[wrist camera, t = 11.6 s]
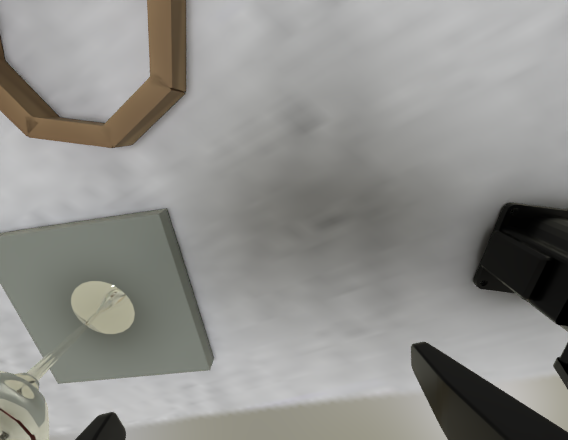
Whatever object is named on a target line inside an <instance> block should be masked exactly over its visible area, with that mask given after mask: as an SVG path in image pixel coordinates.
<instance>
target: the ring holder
mask: <svg viewBox="0 0 568 440" xmlns="http://www.w3.org/2000/svg"><path fill="white" fill-rule="evenodd" d="M147 8H148V32H149V57H150V77H149V78H148V79H147V81H146V82H145V83H144V84H143V85H142V86H141V87H140V88H139V89H138V90H137V91H136V92H135V93H134V94H133V95H132V96H131V97H130V98H129V99H128V100H127V101H126V102H125V103H124V104H123V105H122V106H121V107H120V108H119V110H118V111H117V112H116V113H115V114H114V115H113V116H112V117H111V118H110V119H109V120H108V121H107V122H106V123H99V122H92V121H84V120H76V119H68V118H60V117H59V116H58V115H57V114H56V113H55V112H54V111H53V110H52V109H51V108H50V107H49V106H48V105H47V104H46V103H45V102H44V101H43V100H42V99H41V98H40V97H39V96H38V94H37V93H36V92H35V91H34V90H33V89H32V88H31V87H30V86H29V85H28V84H27V83H26V82H25V81H24V80H23V79H22V78H21V77H20V76H19V75H18V74H17V73H16V72H15V71H14V70H13V69H12V68H11V67H10V66H9V65H8V64H7V62H6V61H5V58H4V53H3V48H2V43H1V38H0V111H1V112H2V113H3V114H4V115H5V116H6V117H7V118H8V119H9V120H11V121H12V122H13V123H14V124H15V125H16V126H17V127H18V128H19V129H20V130H21V131H22V132H23V133H24V134H25V135H26V136H29V137H30V138H38V139H46V140H54V141H61V142H69V143H77V144H85V145H93V146H101V147H108V148H115V147H122V146H129V145H133V144H134V143H135V142H136V141H137V140H138V139H139V138H140V137H141V136H142V135H143V134H144V133H145V132H146V131H147V130H148V129H149V128H150V127H151V126H152V125H153V124H154V123H155V122H156V121H157V120H158V119H159V118H160V117H162V116H163V115H164V114H165V113H166V112H167V111H168V110H169V109H170V108H171V107H172V106H173V105H174V104H175V103H176V102H177V101H178V100H179V99H180V98H181V97H182V96H183V95H184V94H185V93H184V92H183V91H185V92H186V0H147Z"/></svg>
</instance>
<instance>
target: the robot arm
mask: <svg viewBox="0 0 568 440" xmlns="http://www.w3.org/2000/svg"><path fill="white" fill-rule="evenodd" d="M513 208H514V211H513V212H512V213H510V211H511V210H512V209H513ZM483 280H484V281H483ZM481 281H483V282H482V283H481ZM473 282H474V284H475V285H476V286H477V287H478V288H480V289H486V290H494V291H502V292H510V293H516V294H517V295H519V296H520V297H521V298H522V299H524V300H526V301H527V302H529V303H530V304H531V305H533V306H534V307H535V308H536V309H538V310H539V311H540V312H542V313H543V314H544V315H545V316H547V317H548V318H549V319H551V320H552V321H553V322H554V323H556V324H557V325H560V326H561V327H562V328H564V329H565V330H566V331H567V332H568V210H566V209H558V208H550V207H542V206H534V205H526V204H518V203H509V204H506V205H505V206H504V208H503V209H502V212H501V214H500V216H499V219H498V221H497V224H496V226H495V229H494V231H493V234H492V236H491V238H490V241H489V243H488V246H487V248H486V251H485V253H484V256H483V258H482V260H481V263H480V265H479V268H478V270H477V273H476V275H475V278H474V281H473ZM411 365H412V369H413V371H414V374H415V376H416V378H417V380H418V382H419V384H420V386H421V388H422V390H423V392H424V394H425V396H426V398H427V400H428V402H429V404H430V406H431V408H432V410H433V412H434V414H435V416H436V419H437V421H438V422H439V424H440V426H441V428H442V430H443V432H444V433H445V435H446V437H447V439H448V440H568V432H567V431H565V430H563V429H562V428H560V427H559V426H557V425H556V424H554V423H552V422H551V421H549V420H548V419H546V418H545V417H543V416H541V415H540V414H538V413H537V412H535V411H534V410H532V409H530V408H529V407H527V406H526V405H524V404H523V403H521V402H519V401H518V400H516V399H515V398H513V397H512V396H510V395H508V394H507V393H505V392H504V391H502V390H501V389H499V388H497V387H496V386H494V385H493V384H491V383H490V382H488V381H486V380H485V379H483V378H482V377H480V376H479V375H477V374H475V373H474V372H472V371H471V370H469V369H468V368H466V367H464V366H463V365H461V364H460V363H458V362H457V361H455V360H453V359H452V358H450V357H449V356H447V355H446V354H444V353H442V352H441V351H439V350H438V349H436V348H435V347H433V346H431V345H430V344H428V343H426V342H420V343H415V344H412V346H411ZM553 366H554V368H555V370H556V371H557V373H558V374H559V376H560V378H561V379H562V381H563V382H564V384H565V385H566V387H567V389H568V343H567V345H566V347H565V349H564V351H563V353H562V355H561V356H560V357H557V359H556V361H555V363H554V365H553ZM125 438H126V431H125V428H124V426H123V425H122V423H121V421H120V420H119V418H118V416H117V415H116V414H115V413H114V412H110V413H106V414H102V415H99V416H98V417H96V418H95V419H94V420H93V421H92V422H91V424H90V425H89V426H88V427H87V428H86V429H85V430H84V431H83V432H82V433H81V434H80V435H79V436H78V437H77V438H76V439H75V440H125Z"/></svg>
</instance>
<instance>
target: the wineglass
mask: <svg viewBox="0 0 568 440" xmlns="http://www.w3.org/2000/svg"><path fill="white" fill-rule="evenodd" d="M71 305H72V308H73V311H74V313H75V315H76V316H77V318H78V319H79V320H80V321H81V322H82V323H83V324H82V325H81V326H79V327H78V328H77V329H76V330H75V331H74V332H73V333H71V334H70V335H69V336H68V337H67V338H66V339H65V340H63V341H62V342H61V343H60V344H59V345H58V346H56V347H55V348H54V349H53V350H52V351H51V352H50V353H48V354H47V355H46V356H45V357H44V358H43V359H42V360H40V361H39V362H38V363H37V364H36V365H35V366H34V367H32V368H31V369H30V370H29V371H28V372H27V373H18V374H11V373H7V372H3V371H0V440H49V417H48V406H47V403H46V401H45V398H44V397H43V395H42V394H41V393H40V392H39V382H38V381H39V379H40V378H41V377H42V376H43V375H44V374H45V373H46V372H47V371H48V370H49V369H50V368H51V367H52V366H53V364H54V363H55V362H56V361H57V360H58V359H59V358H60V357H61V356H62V355H63V354H64V353H65V352H66V351H67V349H68V348H69V347H70V346H71V345H72V344H73V343H74V342H75V341H76V340H77V339H78V338H79V337H80V335H81V334H82V333H83V332H84V331H85V330H86V329H87V328H88V327H89V328H91V329H92V330H94V331H97V332H100V333H104V334H117V333H120V332H123V331H125V330H126V329H128V328H129V327H130V326H131V324H132V323H133V321H134V315H135V312H134V308H133V304H132V303H131V301H130V299H129V298H128V296H127V295H126V294H125V293H124V292H122V291H121V290H120V289H119V288H117V287H115V286H113V285H112V284H109V283H105V282H102V281H89V282H85V283H82V284H81V285H79V286H78V287H77V288H75V290H74V292H73V294H72V296H71Z"/></svg>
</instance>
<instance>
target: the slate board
mask: <svg viewBox="0 0 568 440" xmlns="http://www.w3.org/2000/svg"><path fill="white" fill-rule="evenodd" d="M89 281H102V282H105V283H109V284H112V285H113V286H115V287H117V288H119V289H120V290H121V291H122V292H124V293H125V294H126V295H127V296H128V298H129V299H130V301H131V303H132V304H133V308H134V312H135V315H134V321H133V323H132V324H131V326H130V327H129V328H128V329H126V330H125V331H123V332H120V333H117V334H104V333H100V332H97V331H94V330H92V329H91V328H89V327H88V328H87V329H86V330H85V331H84V332H83V333H82V334H81V335H80V337H79V338H78V339H77V340H76V341H75V342H74V343H73V344H72V345H71V346H70V347H69V348H68V349H67V351H66V352H65V353H64V354H63V355H62V356H61V357H60V358H59V359H58V360H57V361H56V362H55V363H54V364H53V366H52V367H51V368H50V370H51V372H52V374H53V376H54V377H55V379H56V381H57V382H58V384H60V383H71V382H83V381H94V380H105V379H116V378H127V377H139V376H150V375H161V374H172V373H183V372H194V371H206V370H210V368H211V365H212V362H213V360H214V358H213V354H212V351H211V348H210V345H209V342H208V338H207V335H206V332H205V329H204V326H203V323H202V319H201V316H200V313H199V310H198V307H197V304H196V300H195V297H194V294H193V291H192V288H191V284H190V281H189V278H188V275H187V272H186V269H185V265H184V262H183V259H182V256H181V253H180V250H179V246H178V243H177V240H176V237H175V234H174V230H173V227H172V224H171V221H170V218H169V215H168V211H167V209H160V210H153V211H147V212H140V213H133V214H126V215H119V216H113V217H106V218H99V219H92V220H86V221H79V222H72V223H65V224H58V225H52V226H45V227H38V228H31V229H25V230H18V231H11V232H4V233H0V284H1V285H2V287H3V289H4V291H5V292H6V294H7V296H8V297H9V299H10V301H11V303H12V304H13V306H14V308H15V310H16V311H17V313H18V315H19V317H20V318H21V320H22V322H23V323H24V325H25V327H26V329H27V330H28V332H29V334H30V336H31V337H32V339H33V341H34V343H35V344H36V346H37V348H38V350H39V351H40V353H41V355H42V356H43V358H44V357H45V356H46V355H47V354H48V353H50V352H51V351H52V350H53V349H54V348H55V347H56V346H58V345H59V344H60V343H61V342H62V341H63V340H65V339H66V338H67V337H68V336H69V335H70V334H71V333H73V332H74V331H75V330H76V329H77V328H78V327H79V326H81V325H82V324H83V323H82V322H81V321H80V320H79V319H78V318H77V316H76V315H75V313H74V311H73V308H72V305H71V296H72V294H73V292H74V290H75V288H77V287H78V286H79V285H81V284H82V283H85V282H89Z"/></svg>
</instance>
